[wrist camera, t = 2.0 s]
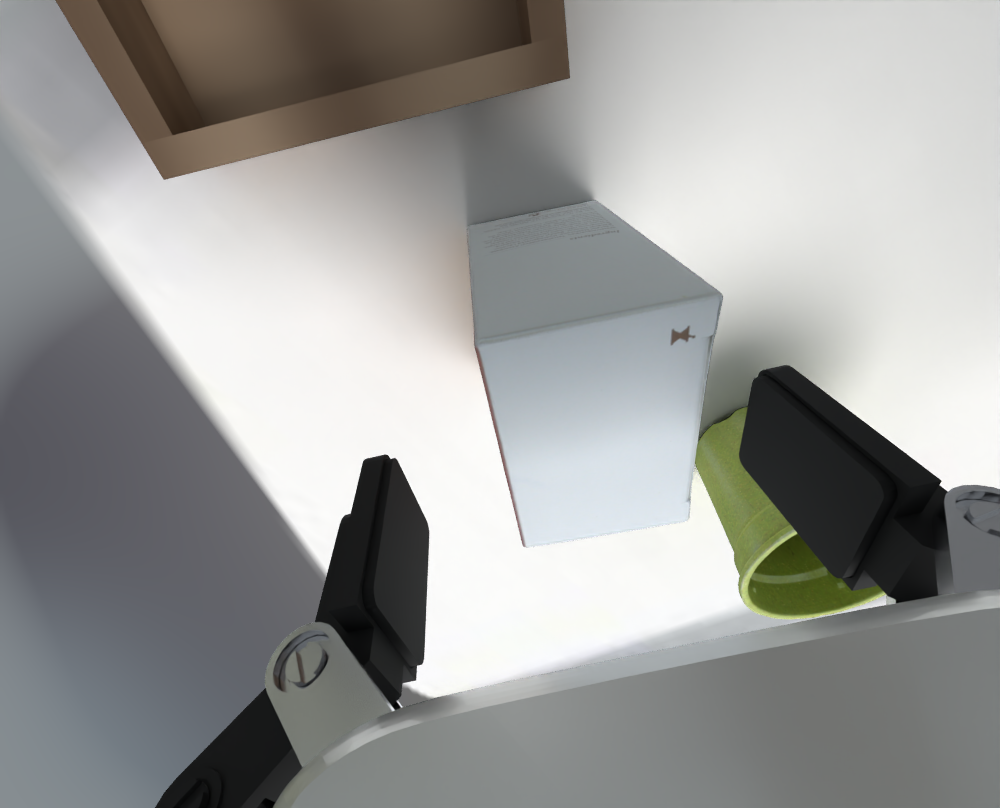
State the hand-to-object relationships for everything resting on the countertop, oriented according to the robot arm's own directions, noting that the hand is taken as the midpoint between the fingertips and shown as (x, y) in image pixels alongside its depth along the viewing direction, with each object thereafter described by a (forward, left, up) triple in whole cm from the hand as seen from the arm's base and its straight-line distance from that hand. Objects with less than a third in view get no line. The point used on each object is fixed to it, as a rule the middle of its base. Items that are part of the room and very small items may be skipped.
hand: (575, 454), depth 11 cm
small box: (-1, 0, -11) cm, 11 cm away
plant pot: (-12, +12, -11) cm, 20 cm away
